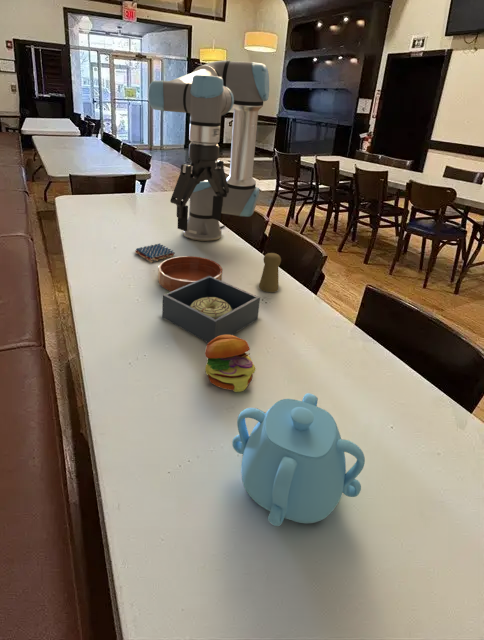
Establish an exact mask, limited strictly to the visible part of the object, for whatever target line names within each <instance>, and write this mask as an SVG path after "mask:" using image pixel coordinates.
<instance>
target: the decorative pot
mask: <svg viewBox="0 0 484 640" xmlns="http://www.w3.org/2000/svg"><path fill="white" fill-rule="evenodd" d="M318 400H319V398H318V396H317V395H315V394H313V393H309V392H307V393H305V394H304V395H303V397H302V400H298V399H293V398H283V399H280V400H278V401H276V402H275V403H274V404H273V405H272V406H271V407H270V408H268V410H267V411H266V412H264V410H261V409H259V408H256V407H247V408H244V409H243V410H241V411H240V413H239V414H238V416H237V421H236V425H237V431H238V434H236V435H235V436H234V437H233V439H232V441H231V442H232V443H231V444H232V448H233V449H234V451H235V452H236V453H238V454H240V455H242V459H241V467H240V468H241V469H240V475H241V480H242V485H243V487H244V489H245V491H246V493H247V494H248V495H249V497H250V498H251V499H252V500H253V501H254V503H256V504H257V505H259V506H260V507H262V508H263V509H265V510H266V511H268V512H269V514H268V517H267V521H268V522H269V524H271V525H273V526H274V527H279V526H281V525H282V524H283V523H284V521H285V520H290V521H292V522H294V523H298V524H299V523H300V524H315V523H318V522H320V521H323V520H325V519H326V518H327V517H329V516H330V515H331V514H332V513H333V511H334V510H335V509H336V507H337V506H338V505H339V502H340V501H341V498H342V496H343V495H344V496H346V497H349V498H355V497H358V496H359V495H360V493H361V492H362V484H361V483H360V481H359V480H358V479H357V477H358V476H360V474H361V472H362V471H363V469H364V467H365V462H366V459H365V454H364V452H363V450H362V449H361V448H360V446H358V444H356V443H355V442H353V441H351V440H349V439H344V438H342V436H341V433H340V430H339V427H338V425H337V422H336V420H335V418H334V417H333V415H332V414H331V413H330V412H329V411H327V410H325V409H324V408H321V407H319V406H318ZM247 418H248V419H252V420H255V421H257V422H256V424H255V425H254V427H253V429H252V430H251V433H250V434H249V431H248V427H247V423H246V419H247ZM345 453H347V454H350V455H351V456H353V457H354V458H355V459H356V461H355V463H354V464H353V465H352V466H351V467H350V468H349V469H348V471H347V465H346V455H345Z"/></svg>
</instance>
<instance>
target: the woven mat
mask: <svg viewBox="0 0 484 640" xmlns="http://www.w3.org/2000/svg"><path fill="white" fill-rule="evenodd" d="M134 252H135V254H137V255H139V256H140V257H142V259H145V260H147V261H148V262H150V263H151V264H152V263H153V262H154V261H156V262H159V260H163V259H164V260H167V258H169V259H170V258H172V257H175V253H176V252H174V250H173V249H171V248H169V247H166V246H165V245H164V244H161V243H157V244H156V243H155V244H151V245H144V246H143V247H142V246H140V247H137V248H135V250H134Z"/></svg>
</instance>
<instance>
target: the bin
mask: <svg viewBox="0 0 484 640" xmlns="http://www.w3.org/2000/svg"><path fill="white" fill-rule="evenodd" d="M206 297H216V298H219V299H222V300H224V301H226V302H227V303H228V304H229V305H230V306H231V308H232V311H230V312H228V313H226V314H224V315H222V316H221V317H219V318H217V319H214V318H212V317H210V316H208V315H206V314H204V313H202V312H200V311H198V310H196V309H194V308H192V307H190V305H191V304H192V303H193V302H194V301H195V300H198V299H200V298H206ZM161 303H162V305H161V306H162V311H161V318H162V319H164V320H166V321H167V322H170V323H172V325H175V326H176V327H179V328H180V329H181V330H184V331H186V332H188V333H189V334H191V335H193V336H195V337H197V338H198V339H200V340H201V341H204V342H206V343H207V344H208V343H209V342H210V341H211V340H213V339H214V338H216V337H217V336H220V335H233V336H234V335H235V334H236V333H238V332H240V331H241V330H243V329H244V328H246V327H247V326H249V325H251V324H252V323H254V322H256V321H257V320H258V319H259V312H260V310H259V309H260V303H261V297H260V296H258V295H255V294H253V293H251V292H248V291H246V290H244V289H241V288H239V287H236V286H234V285H232V284H230V283H227V282H225V281H223V280H222V281H220V280H218V279H216V278H213V277H211V276H208V277H205V278H203V279H200V280H198V281H196V282H193V283H191V284H188V285H186V286H183V287H181V288H179V289H176V290H174V291H168V292H167V293H164V294H162V302H161Z"/></svg>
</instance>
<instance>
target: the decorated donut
mask: <svg viewBox="0 0 484 640" xmlns="http://www.w3.org/2000/svg"><path fill="white" fill-rule="evenodd" d="M190 307H192V308H194V309H196V310H198V311H200V312H202V313H204V314H206V315H208V316H210V317H212V318H214V319H217V318H219V317H221V316H222V315H224V314H226V313H228V312H230V311H232V308H231V306H230V305H229V304H228V303H227V302H226V301H224V300H222V299H219V298H216V297H206V298H200V299H198V300H195V301H194V302H193V303H192V304H191V305H190Z"/></svg>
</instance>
